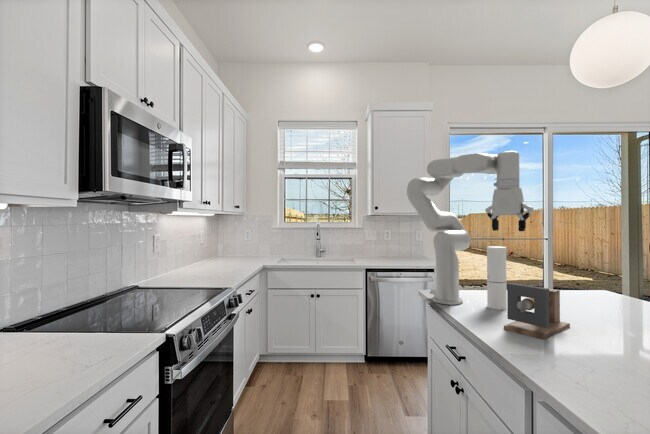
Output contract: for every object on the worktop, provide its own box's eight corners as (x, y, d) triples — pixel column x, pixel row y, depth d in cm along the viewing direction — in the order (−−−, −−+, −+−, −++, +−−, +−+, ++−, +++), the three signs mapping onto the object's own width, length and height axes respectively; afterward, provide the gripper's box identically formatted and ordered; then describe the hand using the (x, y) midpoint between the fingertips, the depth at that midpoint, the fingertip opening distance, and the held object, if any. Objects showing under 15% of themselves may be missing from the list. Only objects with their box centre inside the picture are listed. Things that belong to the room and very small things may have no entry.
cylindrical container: (502, 305, 146) (502, 246, 146) (509, 309, 139) (509, 247, 139) (484, 304, 147) (484, 246, 147) (491, 309, 140) (490, 247, 140)
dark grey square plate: (507, 318, 117) (507, 283, 117) (510, 317, 118) (510, 282, 118) (546, 328, 107) (546, 289, 107) (549, 326, 108) (549, 288, 108)
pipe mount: (503, 329, 116) (503, 293, 116) (532, 318, 127) (532, 286, 127) (542, 339, 106) (542, 300, 106) (569, 327, 117) (569, 291, 117)
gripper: (480, 186, 134) (480, 230, 134) (527, 182, 120) (527, 231, 120) (491, 187, 138) (491, 229, 138) (537, 183, 124) (537, 231, 124)
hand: (508, 230), depth 129 cm, fingers open, 9 cm apart
